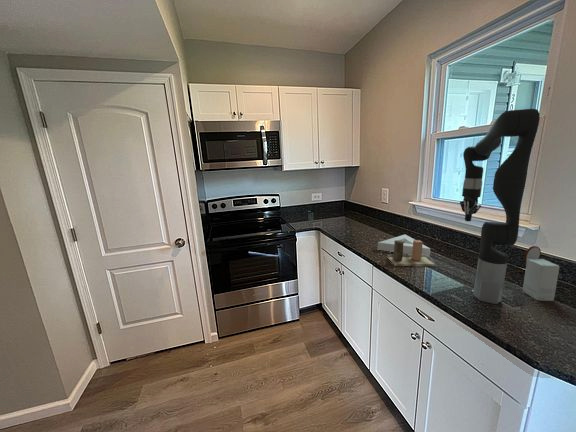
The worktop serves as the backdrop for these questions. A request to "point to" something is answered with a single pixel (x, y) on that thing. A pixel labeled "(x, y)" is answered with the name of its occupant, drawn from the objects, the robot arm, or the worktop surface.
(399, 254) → the fixed leg
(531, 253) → the magnifying glass
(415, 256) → the block
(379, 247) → the triangle block
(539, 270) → the skincare box
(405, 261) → the board
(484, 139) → the robot arm
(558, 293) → the worktop surface
